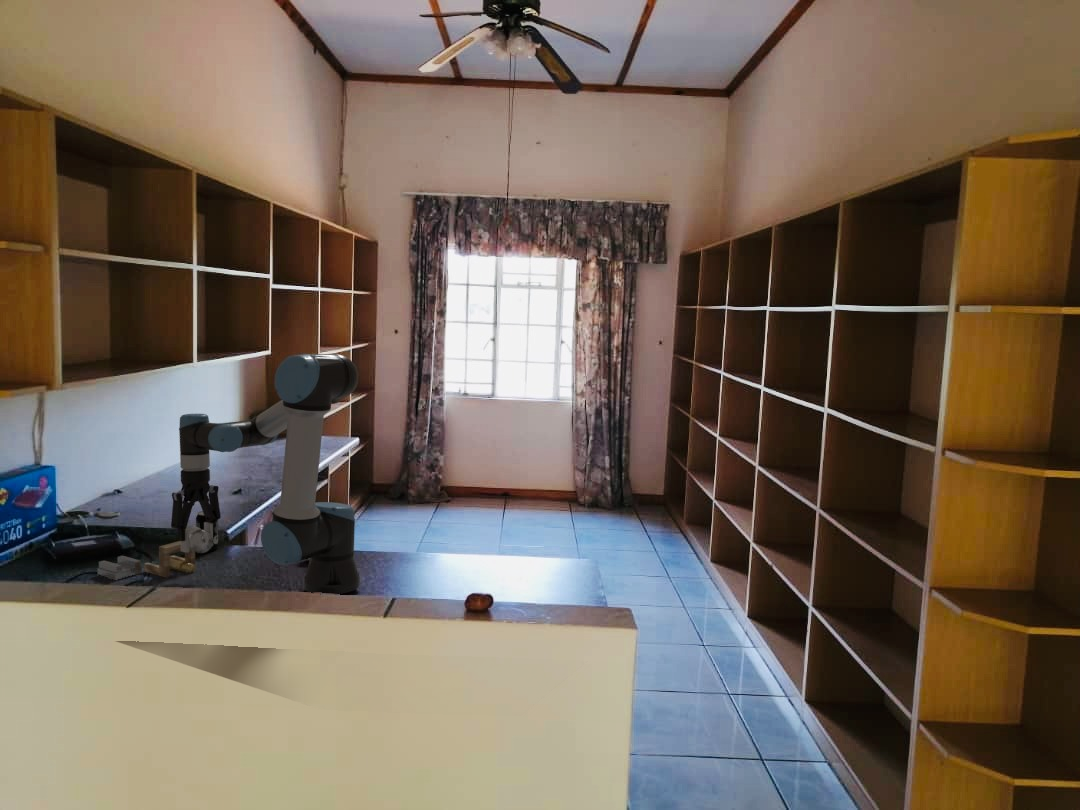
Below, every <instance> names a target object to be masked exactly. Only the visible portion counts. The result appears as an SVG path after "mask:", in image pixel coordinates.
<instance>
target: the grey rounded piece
mask: <svg viewBox="0 0 1080 810" xmlns="http://www.w3.org/2000/svg"><path fill="white" fill-rule="evenodd" d="M186 529H189V548H190V549H192V550H194V551H195V553H197V554H204V553H208V552H209V551H208V550H210V549H211V547H212V545H213V541H214V540H213V537H212V535H211V534H210V533H208V532H206V531H204V530H202V529H200V528H198V527H196V525H187V527H186Z"/></svg>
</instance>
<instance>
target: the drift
mask: <svg viewBox="0 0 1080 810" xmlns="http://www.w3.org/2000/svg"><path fill="white" fill-rule="evenodd" d="M170 570H173V571H178V572H181V573H182V572H183V573H185V574H192V573H193V574H194V573H196V570H197V567H196V564H195V565H194V564H190V563H186V562H182V561H178V560H173V559H170Z"/></svg>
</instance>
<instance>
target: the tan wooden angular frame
mask: <svg viewBox="0 0 1080 810" xmlns="http://www.w3.org/2000/svg"><path fill="white" fill-rule="evenodd" d="M180 552H182V551H181V546H180V541H179V540H178V541H175V542H171V543H167V544H164V545H159V546H158V564H155V563H151V562H145V563H144V565H143V566H144V572H145V573H148V574H152V575H155V576H159V577H162V578H165V579H166V578H170V577H171V573H170V572H171V569H170V559H173V560H178V561H182V562H186V563H190V564H194V565H195V566H196V552H195V551H194V550H192V549H190V548H189V552H188V553H186V552H184V557H181V556H177V555H171V554H175V553H180Z"/></svg>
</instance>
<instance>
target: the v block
mask: <svg viewBox="0 0 1080 810" xmlns="http://www.w3.org/2000/svg"><path fill="white" fill-rule="evenodd" d="M98 574H100V575H103V576H105V577H107V578H106V579H109V580H112V579H113V581H115V580H116V581H119V580H123V579H125V577H126V578H128V576H130V577H132V575H133V576H136V575H140V574H143V566H142V565H141V560H140V559H136V558H133V557H129V556H125V555H120V556H117V562H116V563H115V562H111V561H107V560H100V561H98V567H97V575H98ZM105 577H104V578H105ZM122 578H123V579H122ZM118 579H119V580H118Z"/></svg>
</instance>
